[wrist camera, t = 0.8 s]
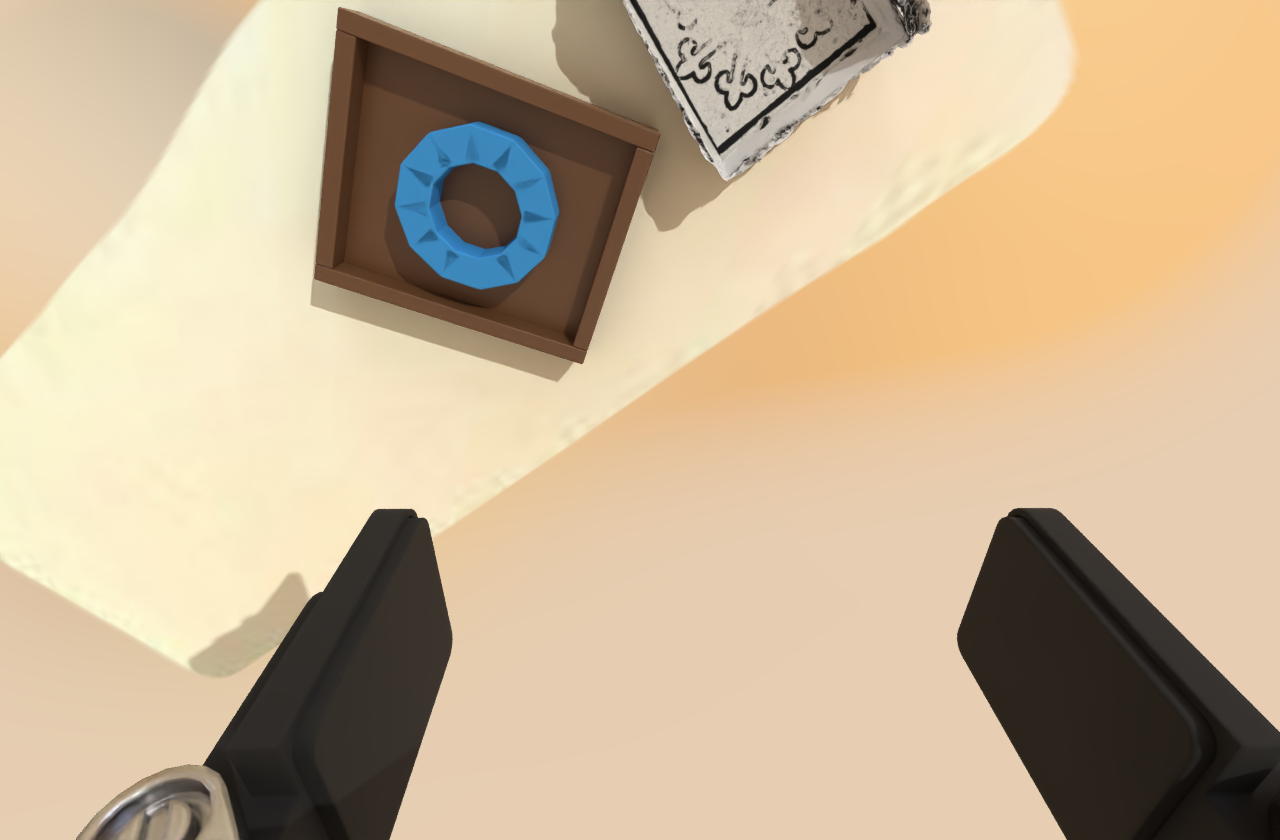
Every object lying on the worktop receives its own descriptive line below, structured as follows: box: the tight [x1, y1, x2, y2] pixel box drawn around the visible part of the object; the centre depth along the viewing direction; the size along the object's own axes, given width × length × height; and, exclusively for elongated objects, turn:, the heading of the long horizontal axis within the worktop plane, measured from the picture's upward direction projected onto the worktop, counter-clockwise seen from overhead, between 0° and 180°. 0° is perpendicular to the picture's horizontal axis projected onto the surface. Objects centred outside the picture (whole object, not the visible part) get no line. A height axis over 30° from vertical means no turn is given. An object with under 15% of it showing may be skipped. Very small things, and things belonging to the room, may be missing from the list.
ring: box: [395, 122, 559, 290], centre depth 28 cm, size 7×7×2 cm
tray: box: [314, 7, 660, 364], centre depth 28 cm, size 12×14×2 cm
